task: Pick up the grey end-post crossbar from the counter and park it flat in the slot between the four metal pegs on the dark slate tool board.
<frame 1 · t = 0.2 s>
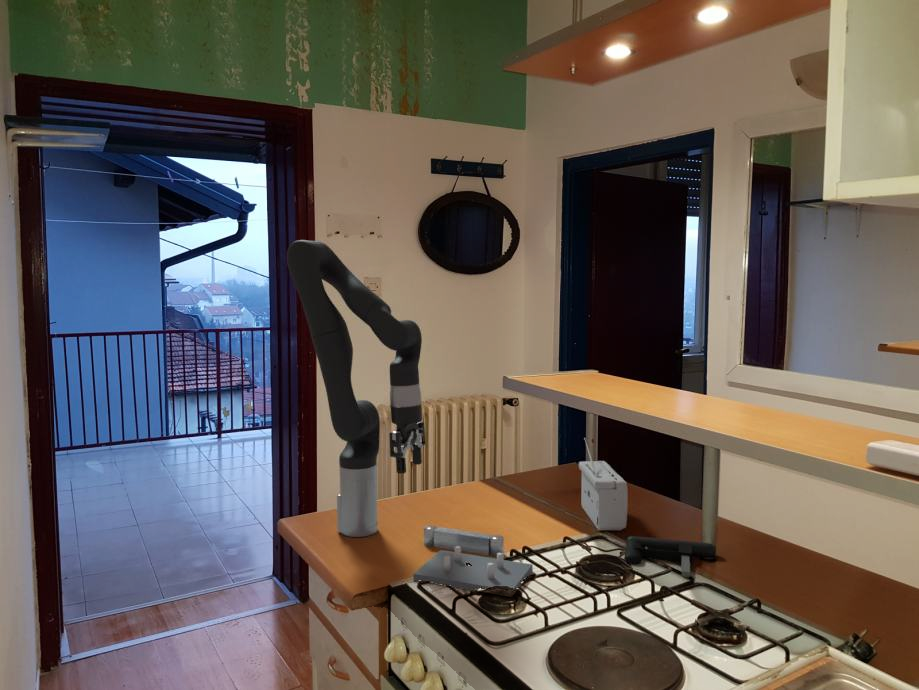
hand: (409, 468, 171), 18 cm above the worktop, tool pointing down, fingers open, 8 cm apart
toy gun: (669, 563, 158), on the worktop
grey end-post crossbar: (463, 549, 166), on the worktop
tool board: (473, 575, 151), on the worktop
stereo radio cassette player: (601, 519, 186), on the worktop
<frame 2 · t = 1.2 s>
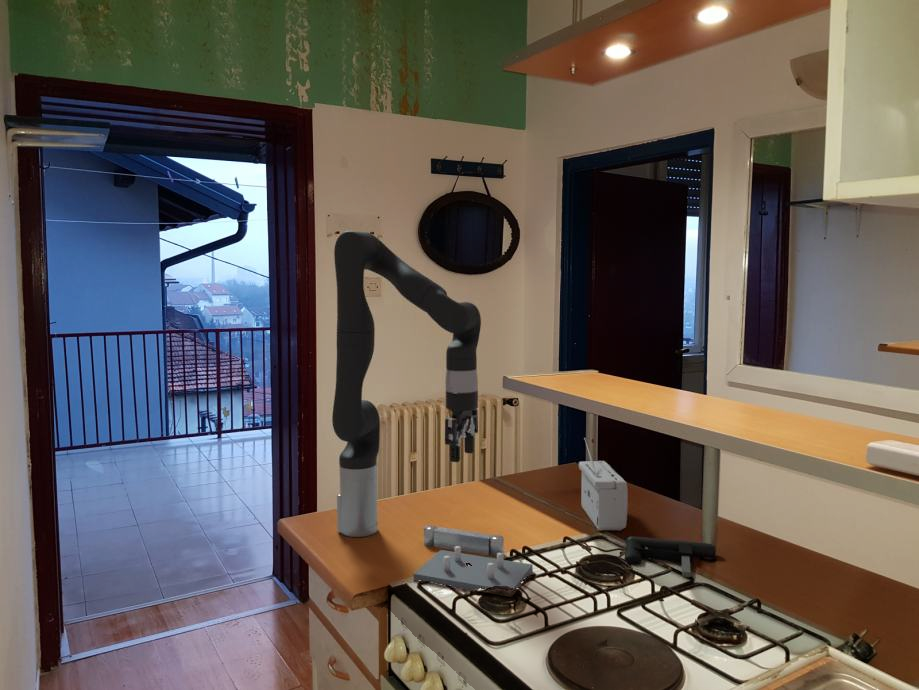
hand: (462, 457, 164), 22 cm above the worktop, tool pointing down, fingers open, 8 cm apart
nothing on the worktop moved.
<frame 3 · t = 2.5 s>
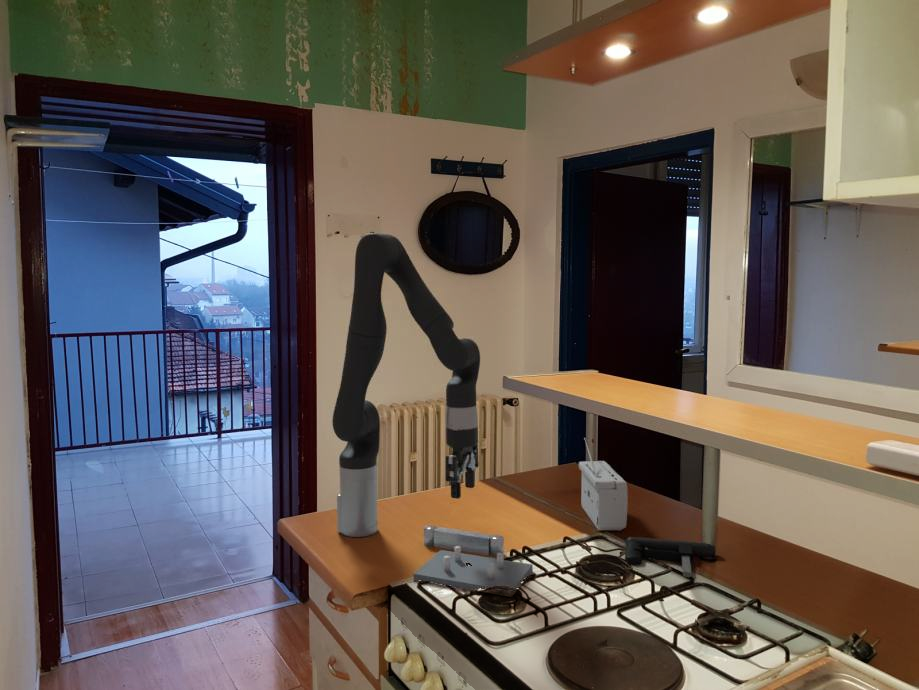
hand: (463, 492, 165), 14 cm above the worktop, tool pointing down, fingers open, 8 cm apart
nothing on the worktop moved.
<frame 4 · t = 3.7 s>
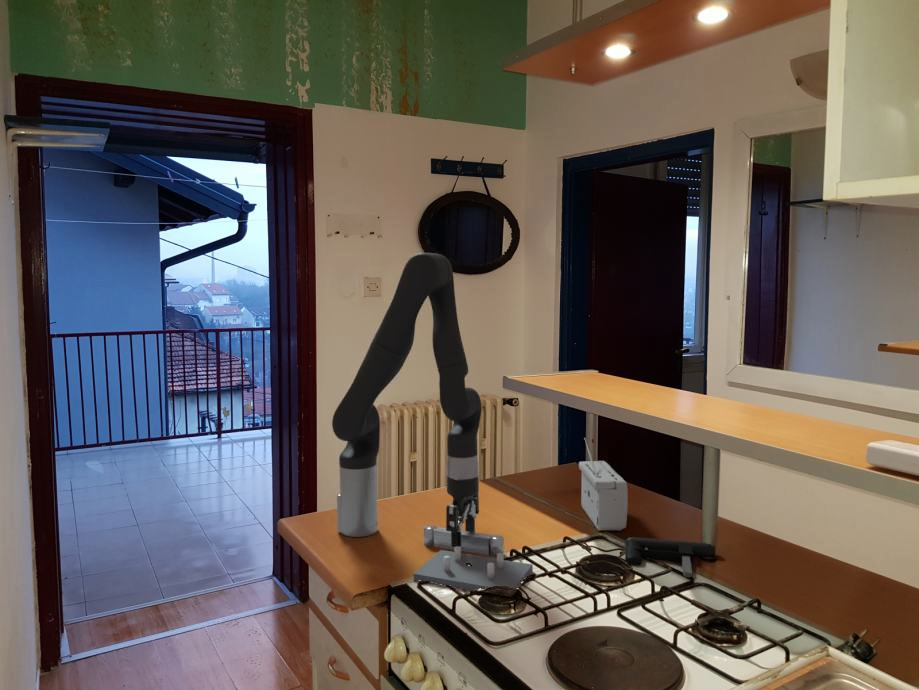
hand: (463, 540, 166), 2 cm above the worktop, tool pointing down, fingers open, 8 cm apart
nothing on the worktop moved.
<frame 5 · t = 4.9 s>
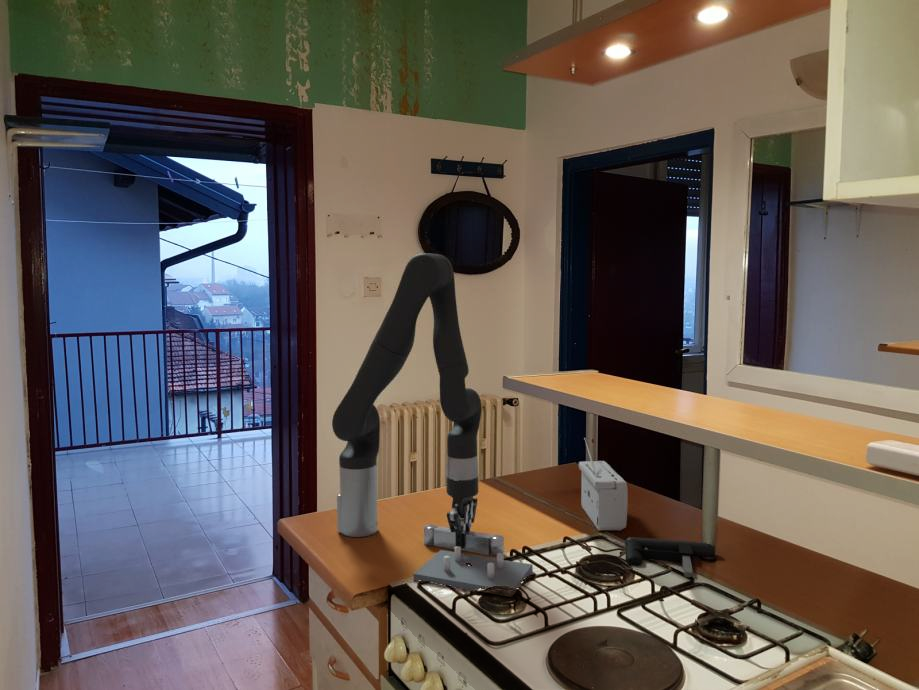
hand: (462, 545, 166), 1 cm above the worktop, tool pointing down, fingers closed on grey end-post crossbar, 2 cm apart
grey end-post crossbar: (463, 548, 166), on the worktop, touching gripper
everything else where it was.
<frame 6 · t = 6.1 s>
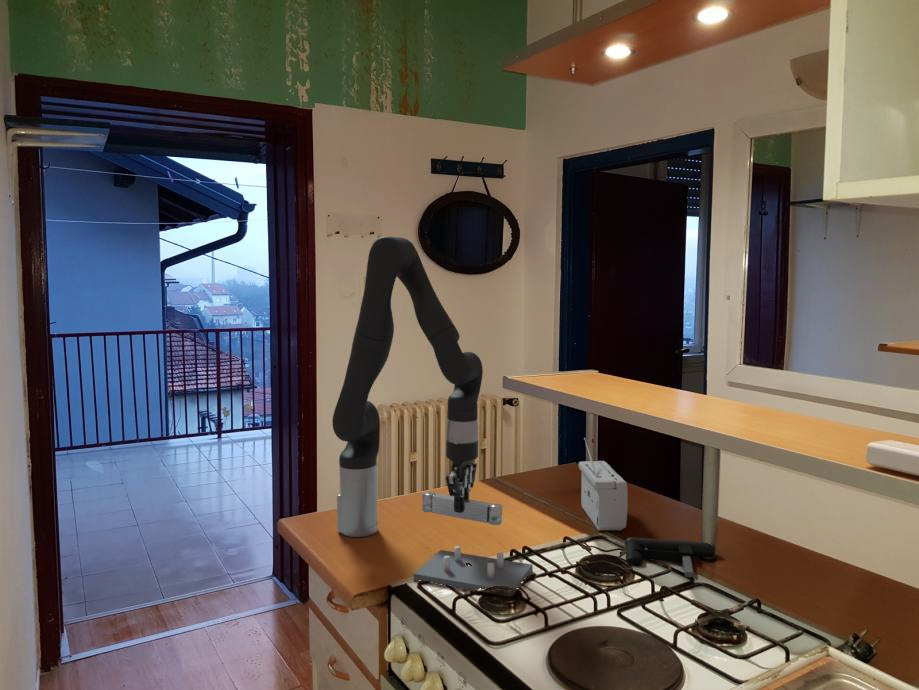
hand: (461, 509, 165), 10 cm above the worktop, tool pointing down, fingers closed on grey end-post crossbar, 2 cm apart
grey end-post crossbar: (461, 516, 165), point 8 cm above the worktop, touching gripper
everything else where it was.
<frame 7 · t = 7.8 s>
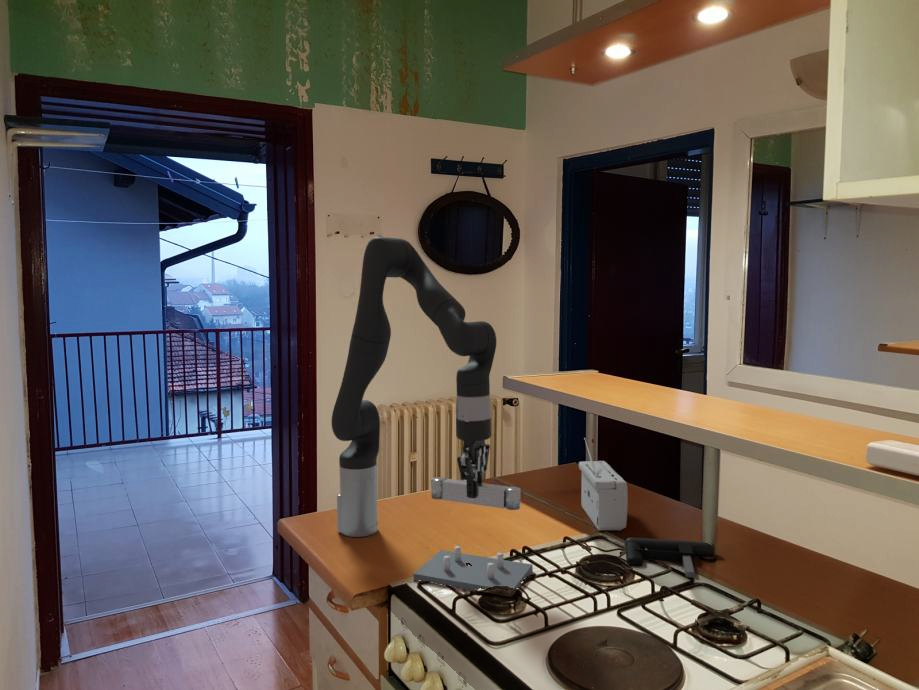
hand: (474, 495, 150), 18 cm above the worktop, tool pointing down, fingers closed on grey end-post crossbar, 2 cm apart
grey end-post crossbar: (474, 502, 150), point 16 cm above the worktop, touching gripper
everything else where it was.
when the fingers open (4 cm above the worktop, at t = 11.8 s): grey end-post crossbar stays where it is, resting on tool board.
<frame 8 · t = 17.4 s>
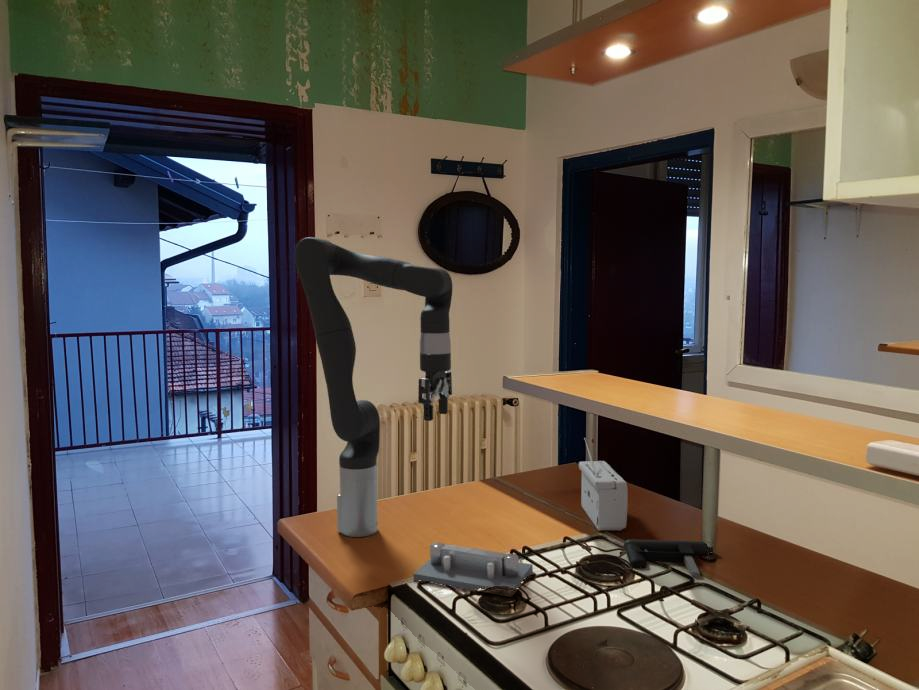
hand: (436, 417, 171), 30 cm above the worktop, tool pointing down, fingers open, 8 cm apart
grey end-post crossbar: (473, 568, 151), point 1 cm above the worktop, touching tool board
at the end: grey end-post crossbar 0.1 cm off-centre on the tool board, point 1.5 cm above the tool board's base; grey end-post crossbar tilted 0°; the gripper is holding nothing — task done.
